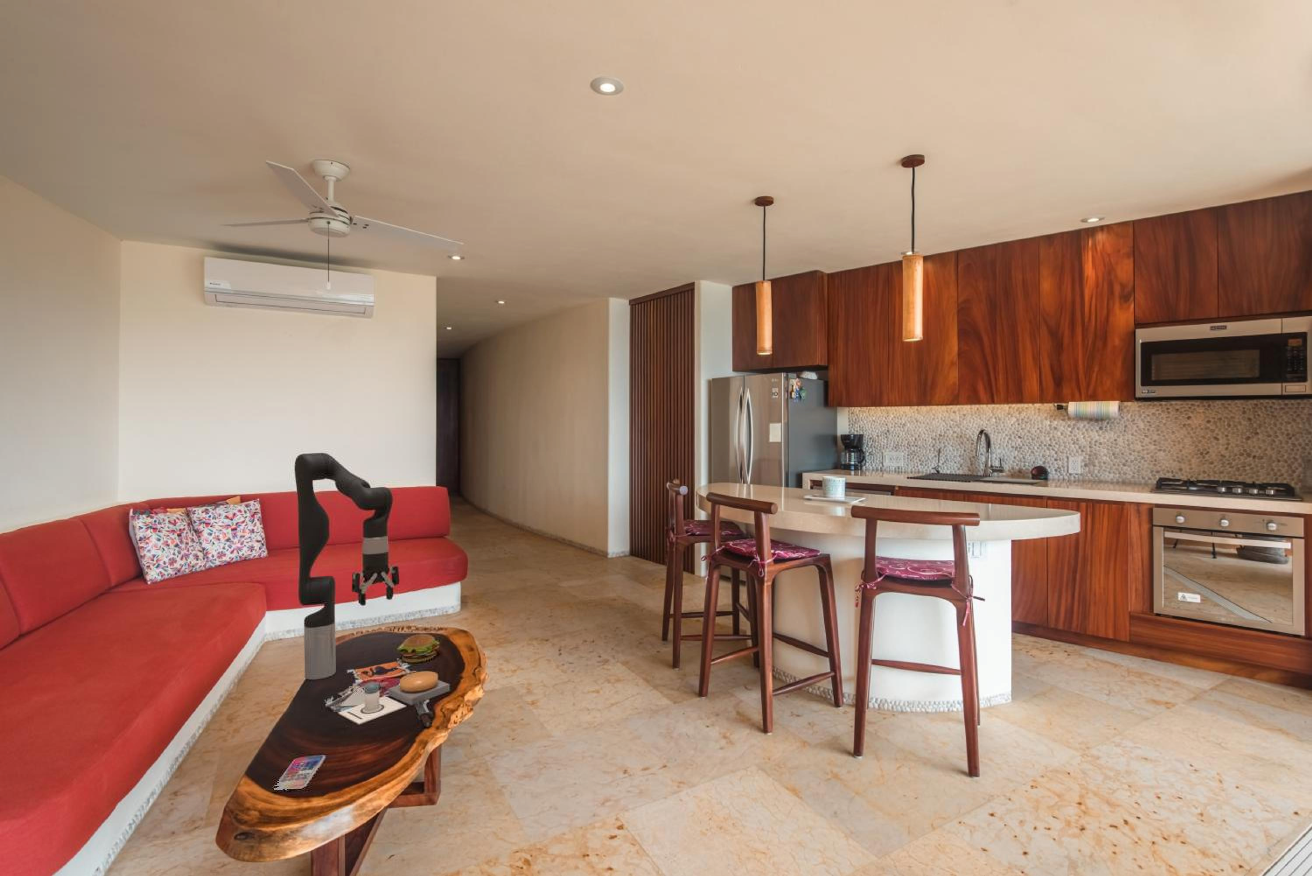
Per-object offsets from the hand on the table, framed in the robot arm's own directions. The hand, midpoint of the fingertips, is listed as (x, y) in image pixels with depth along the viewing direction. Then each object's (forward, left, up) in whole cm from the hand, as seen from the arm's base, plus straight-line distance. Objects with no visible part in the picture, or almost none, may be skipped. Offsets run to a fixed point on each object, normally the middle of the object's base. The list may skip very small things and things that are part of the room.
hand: (376, 602), depth 193 cm
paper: (+12, -8, -28) cm, 32 cm away
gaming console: (0, -4, -29) cm, 29 cm away
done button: (+12, +7, -25) cm, 29 cm away
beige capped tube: (+12, -8, -28) cm, 31 cm away
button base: (+12, +7, -28) cm, 31 cm away
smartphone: (+32, -36, -29) cm, 56 cm away
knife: (+25, +1, -29) cm, 38 cm away
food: (-18, +25, -28) cm, 42 cm away
